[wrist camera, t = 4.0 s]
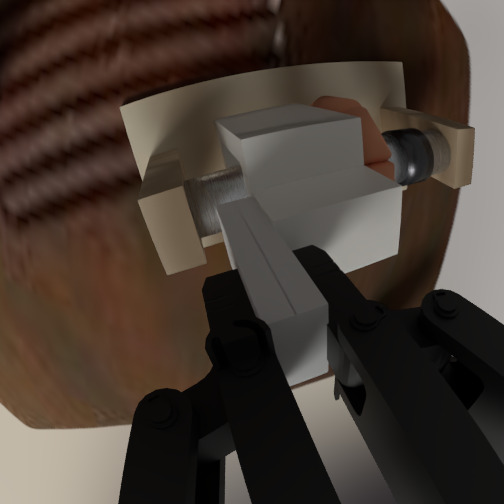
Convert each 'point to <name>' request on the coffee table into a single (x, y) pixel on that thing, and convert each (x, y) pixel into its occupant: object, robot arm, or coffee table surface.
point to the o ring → (363, 133)
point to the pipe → (403, 156)
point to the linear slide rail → (245, 100)
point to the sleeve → (315, 181)
